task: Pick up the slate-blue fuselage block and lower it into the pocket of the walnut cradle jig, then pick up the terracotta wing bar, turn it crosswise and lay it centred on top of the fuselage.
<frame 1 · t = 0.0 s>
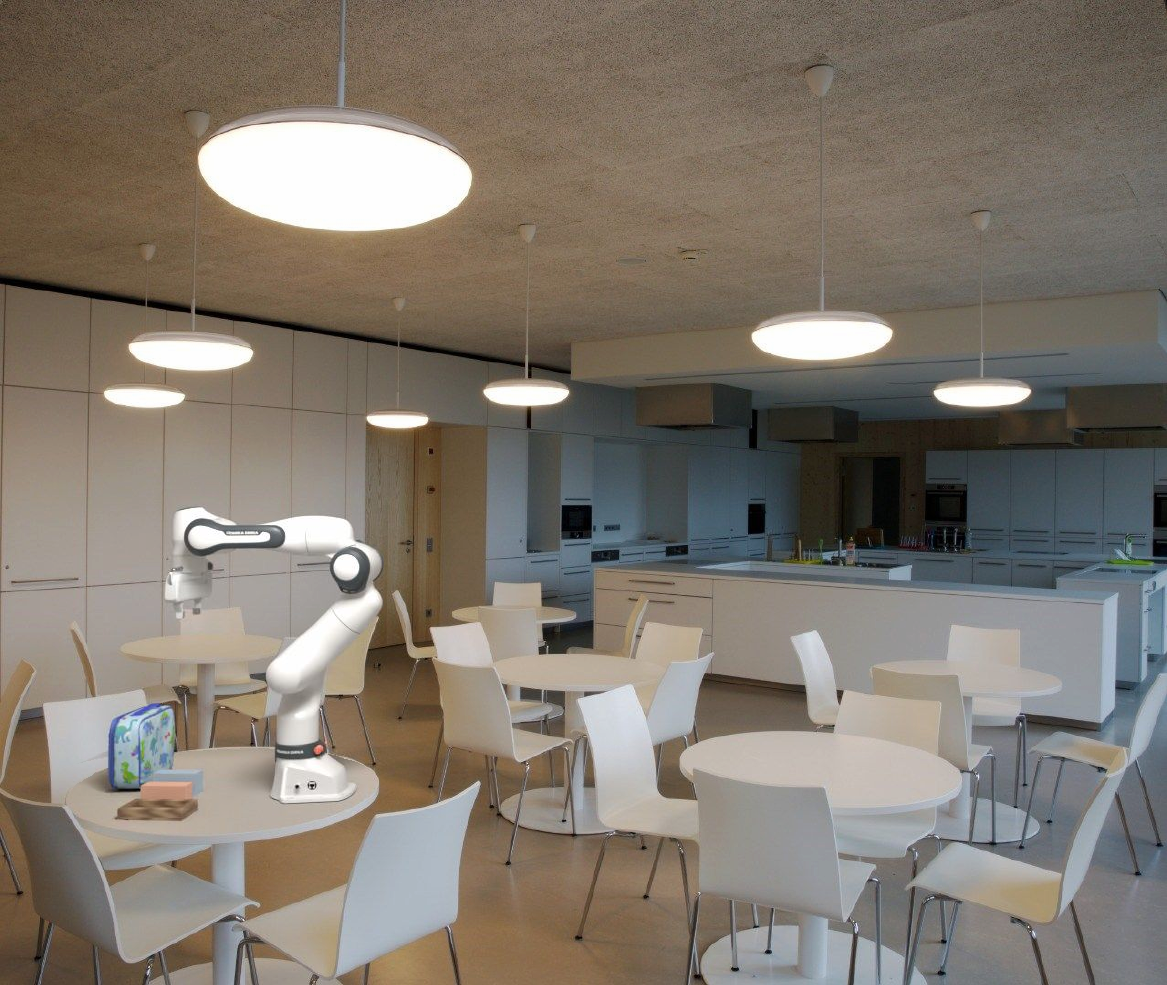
hand: (188, 616, 256), 48 cm above the table, fingers open, 8 cm apart
fuselage: (178, 793, 254), on the table
jig: (158, 814, 235), on the table
wing: (166, 802, 246), on the table
lunch box: (142, 781, 266), on the table
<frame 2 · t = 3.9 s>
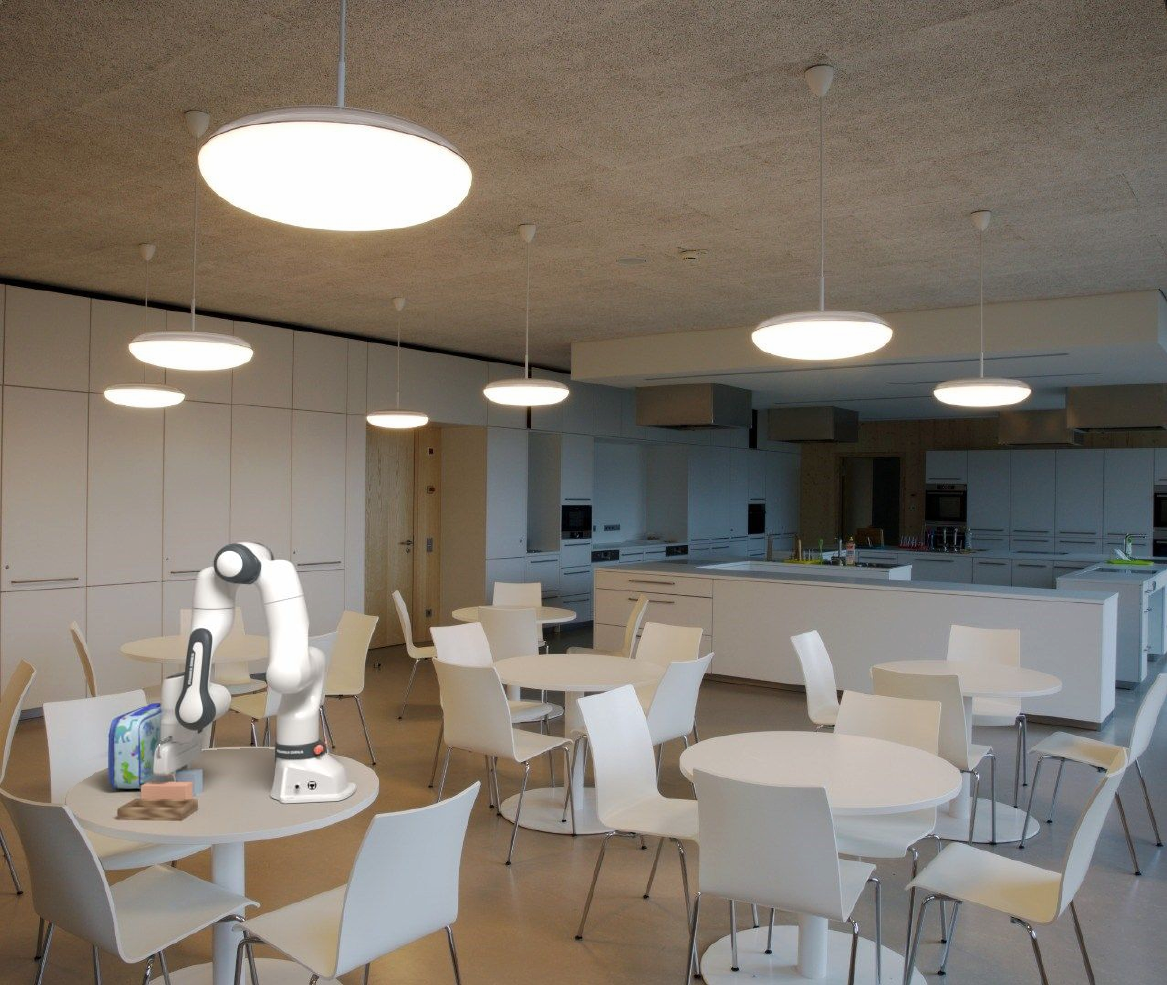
hand: (177, 783, 254), 3 cm above the table, fingers closed on fuselage, 4 cm apart
fuselage: (177, 793, 254), on the table, touching gripper
everything else where it was.
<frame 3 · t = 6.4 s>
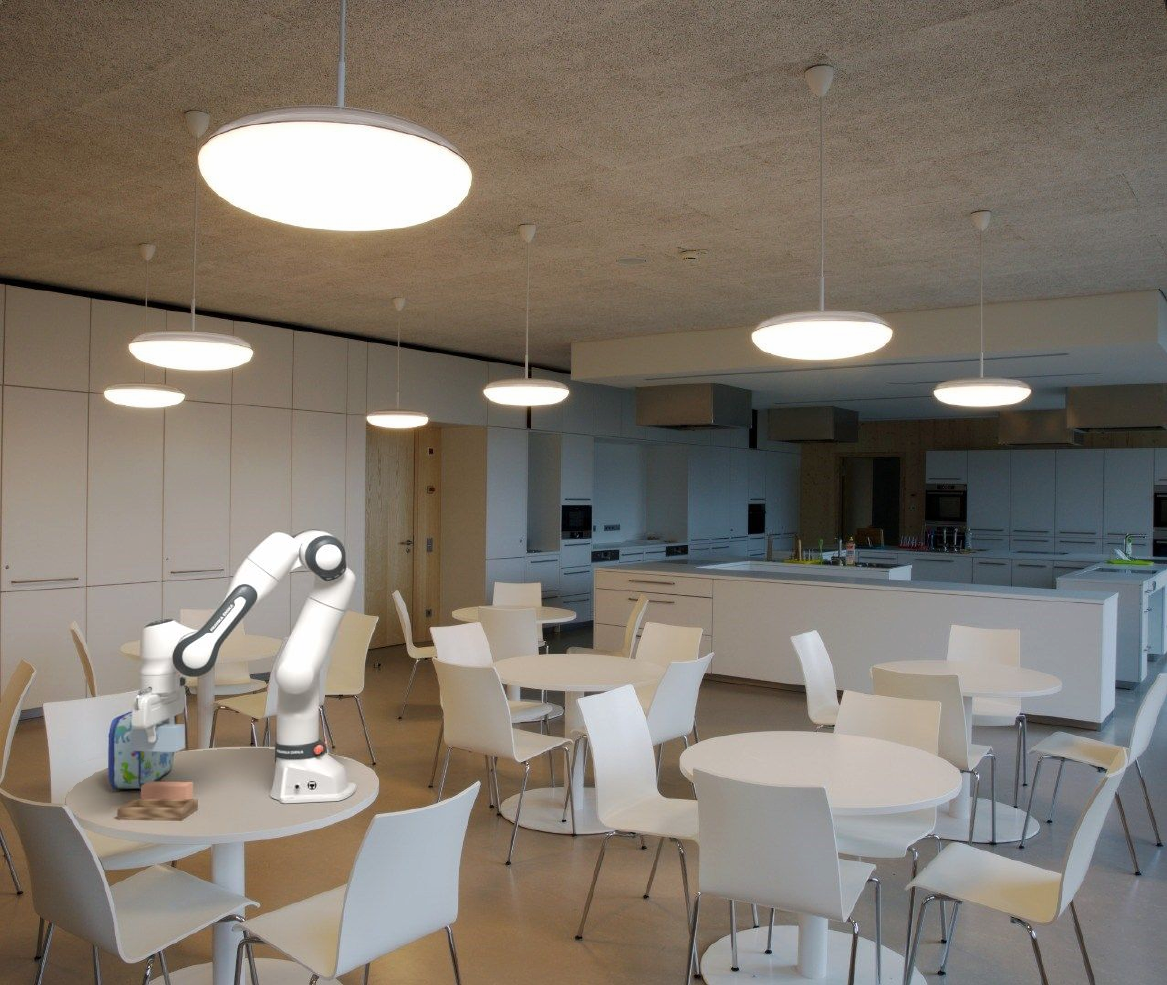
hand: (158, 738, 236), 19 cm above the table, fingers closed on fuselage, 4 cm apart
fuselage: (158, 749, 236), point 16 cm above the table, touching gripper
everything else where it was.
when the fingers open (5 cm above the table, at t = 9.4 s): fuselage drops 1 cm, resting on jig.
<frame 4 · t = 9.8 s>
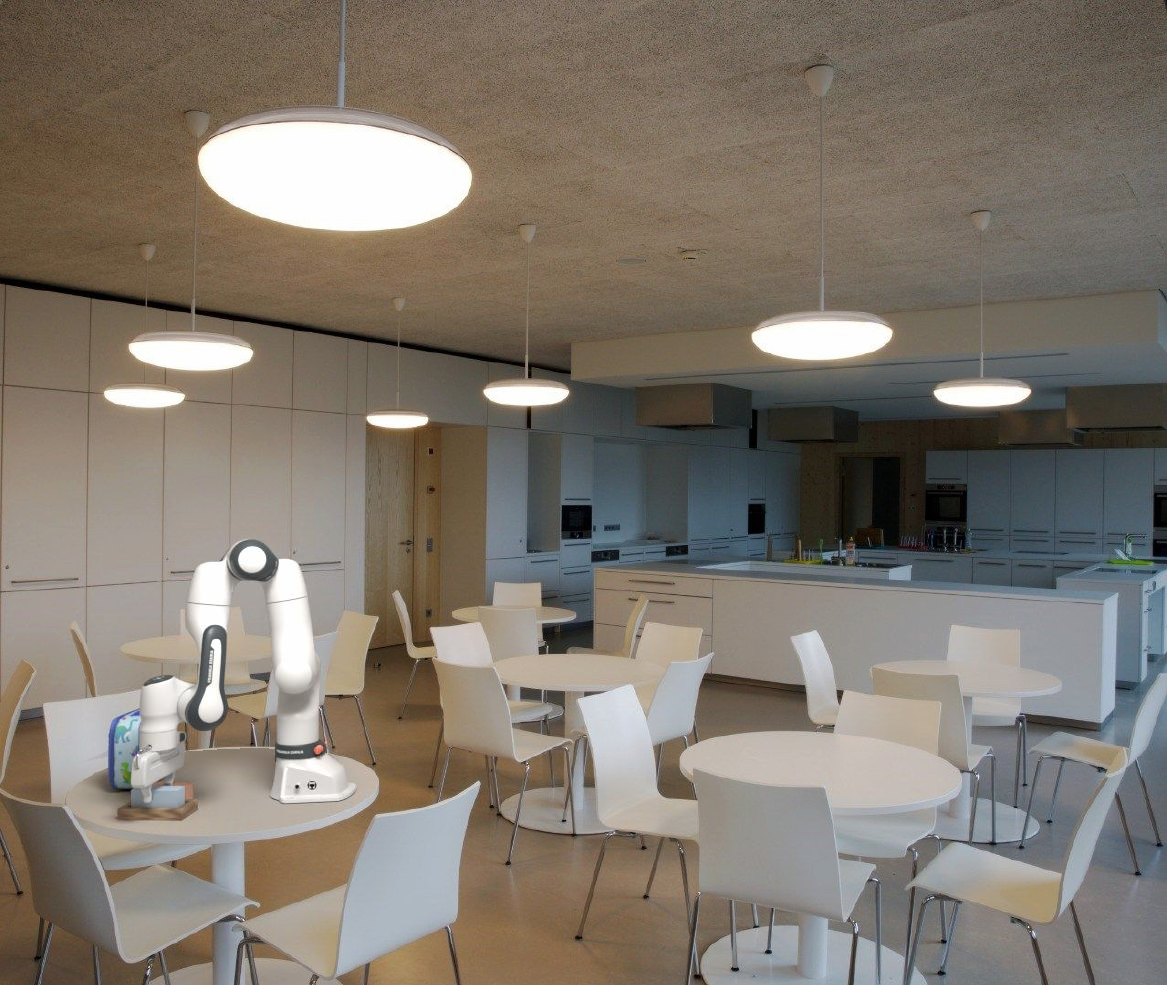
hand: (158, 795, 236), 5 cm above the table, fingers open, 8 cm apart
fuselage: (158, 811, 236), point 1 cm above the table, touching jig
everything else where it was.
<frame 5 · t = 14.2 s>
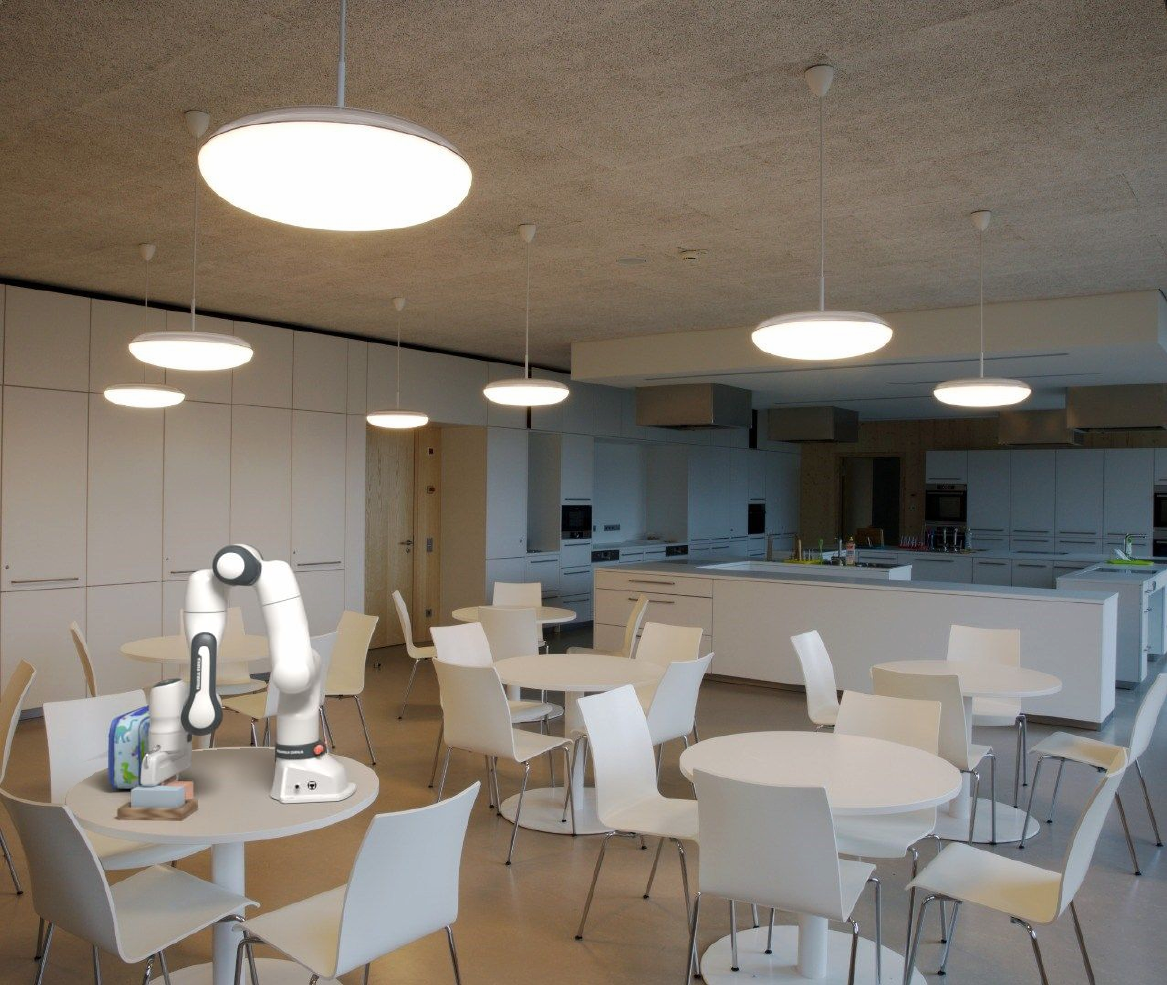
hand: (166, 793, 246), 2 cm above the table, fingers closed on wing, 4 cm apart
wing: (167, 802, 246), on the table, touching gripper
everything else where it was.
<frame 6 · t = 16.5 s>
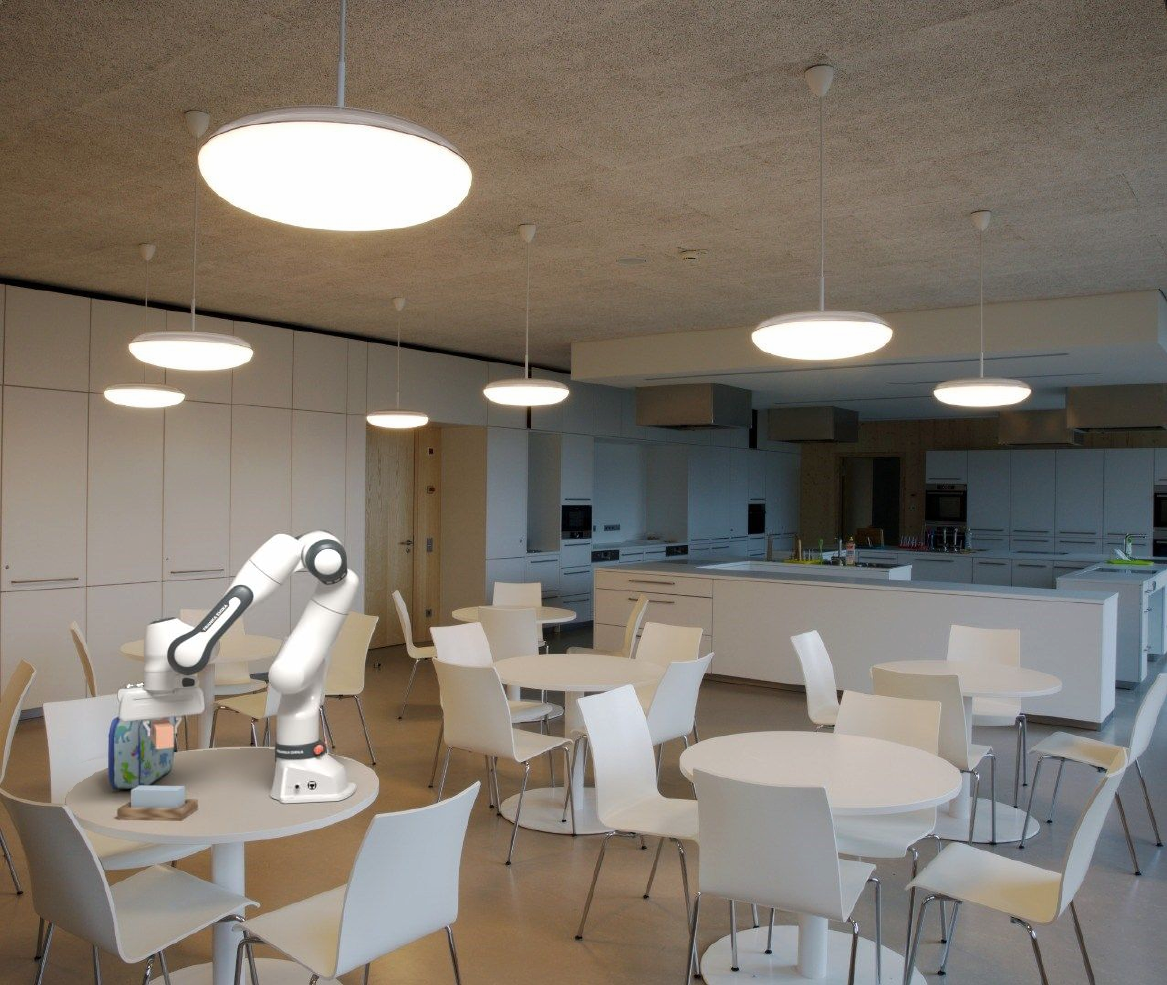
hand: (162, 734, 240), 19 cm above the table, fingers closed on wing, 4 cm apart
wing: (162, 743, 240), point 17 cm above the table, touching gripper
everything else where it was.
when the fingers open (10 cm above the table, at t = 18.9 s): wing stays where it is, resting on fuselage.
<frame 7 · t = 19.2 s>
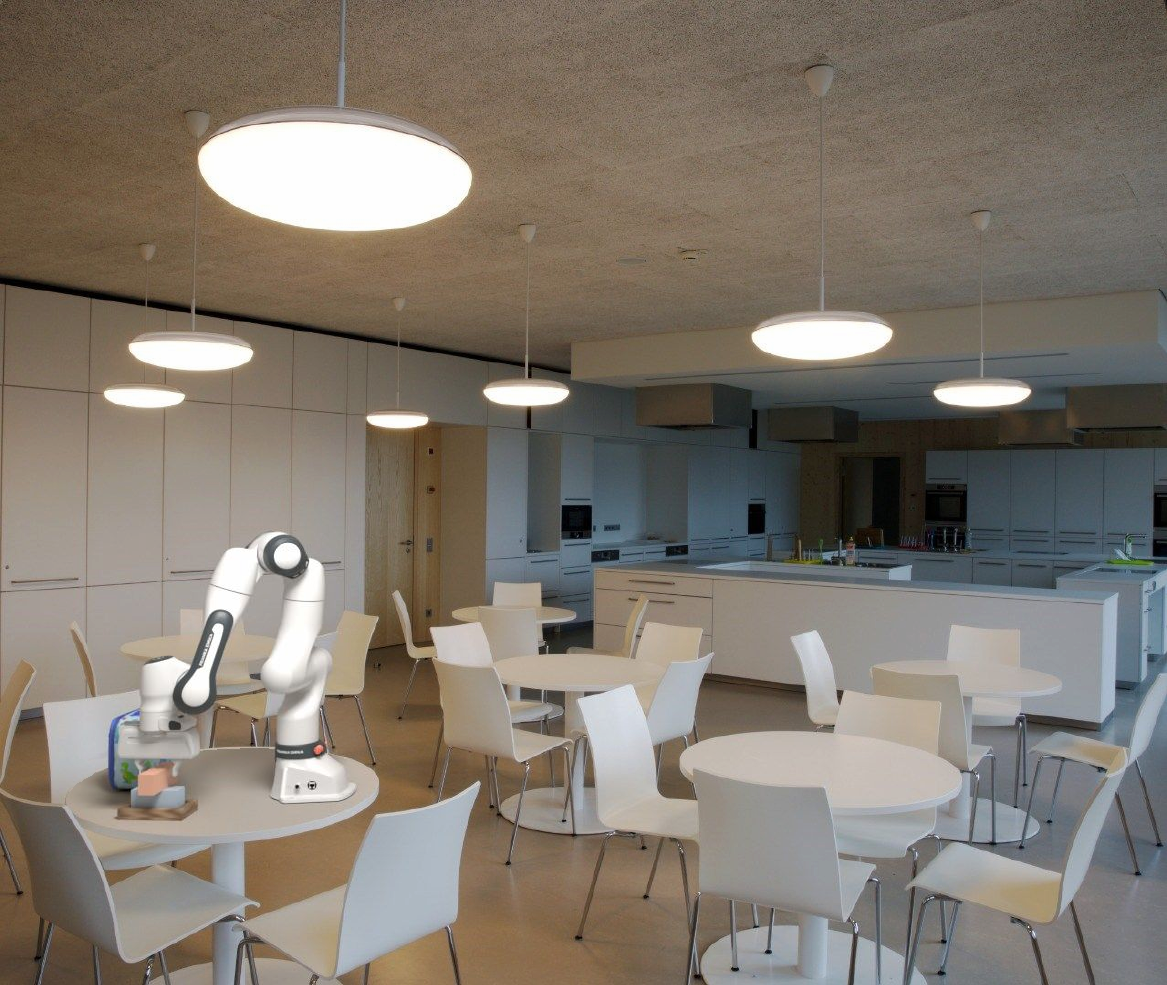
hand: (158, 775, 236), 10 cm above the table, fingers open, 6 cm apart
fuselage: (158, 811, 236), point 1 cm above the table, touching jig, wing
wing: (158, 788, 235), point 7 cm above the table, touching fuselage
everything else where it was.
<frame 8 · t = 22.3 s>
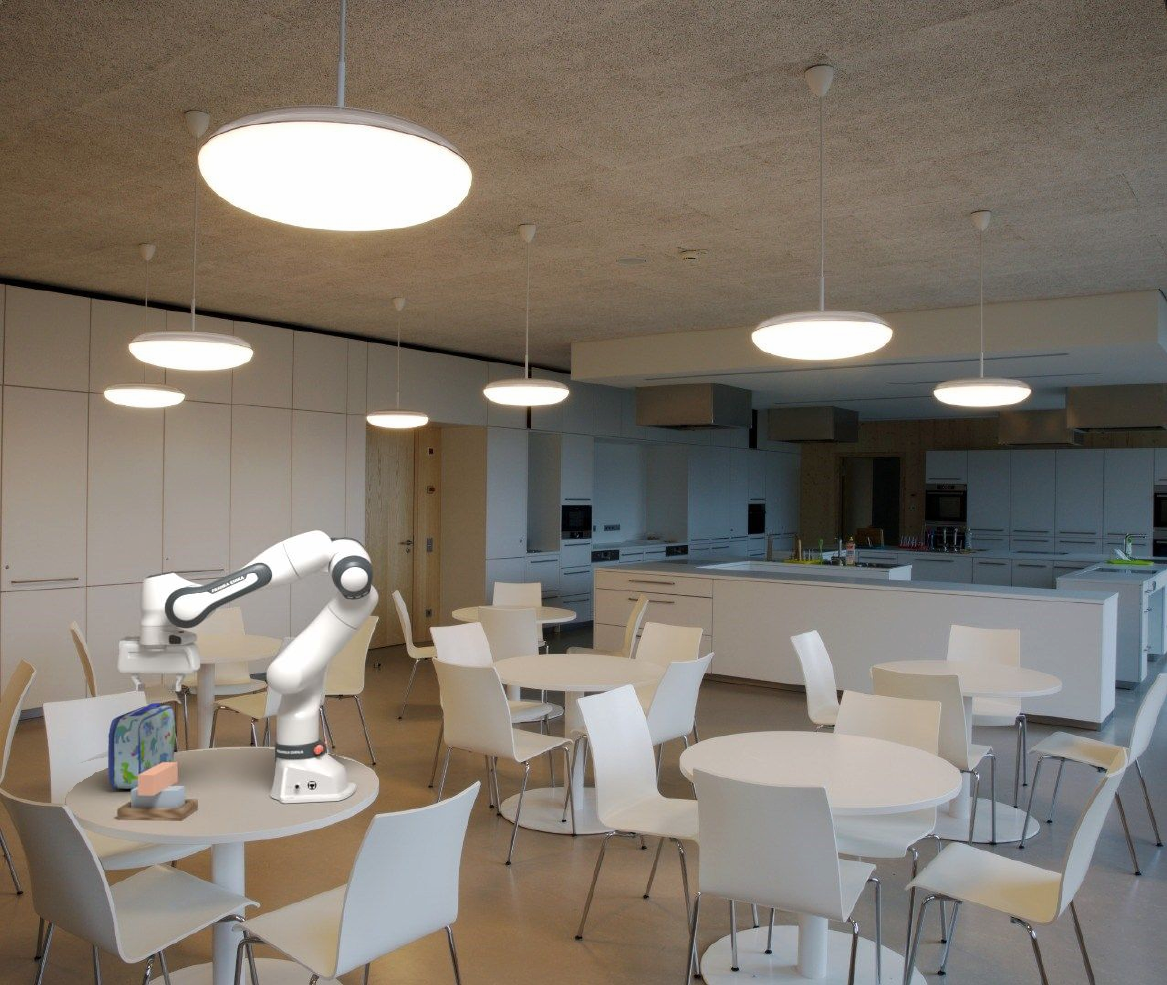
hand: (158, 691, 236), 31 cm above the table, fingers open, 8 cm apart
nothing on the table moved.
at the end: fuselage 0.1 cm off-centre on the jig, point 0.6 cm above the jig's base; wing 0.2 cm off-centre on the fuselage, point 6.0 cm above the fuselage's base; wing tilted 0° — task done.
